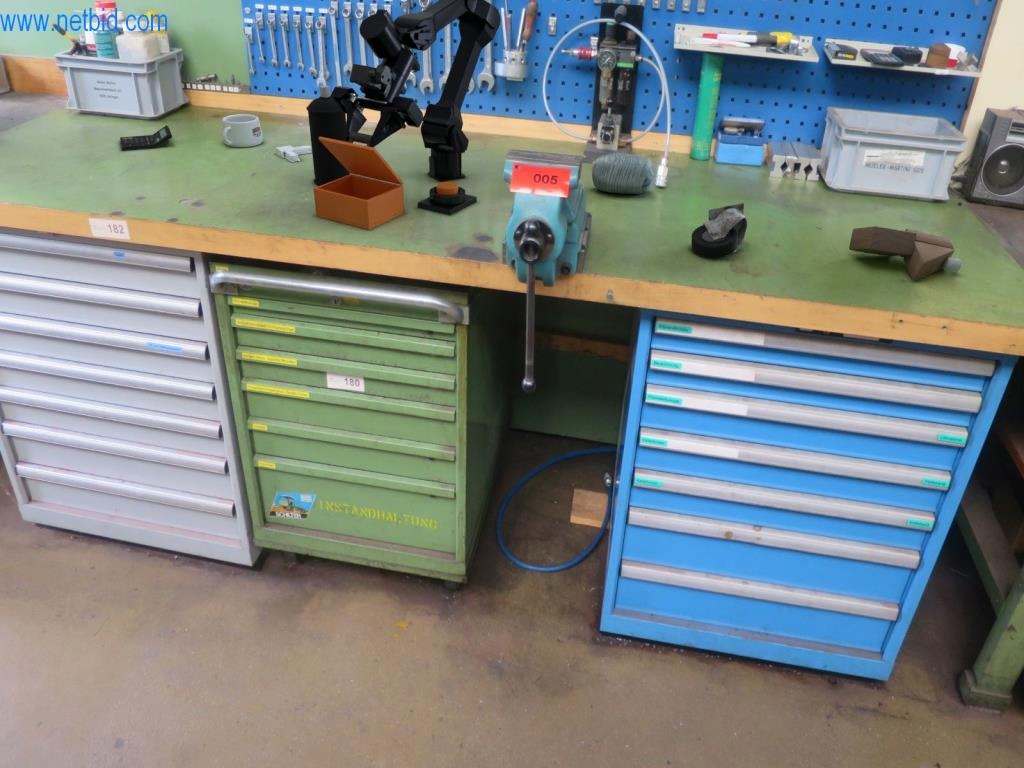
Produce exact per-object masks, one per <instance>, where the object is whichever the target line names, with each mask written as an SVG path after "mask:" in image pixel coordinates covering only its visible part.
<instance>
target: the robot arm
mask: <svg viewBox="0 0 1024 768" xmlns="http://www.w3.org/2000/svg"><path fill="white" fill-rule="evenodd" d="M456 20H457V21H458V25H457V27H458V31H459V36H460V40H459V43H458V47H457V49H456V52H455V55H454V58H453V60H452V64H451V67H450V69H449V71H448V75H447V77H446V81H445V82H444V83H445V84H444V86H443V89H442V92H441V94H440V96H439V97H440V98H439V100H438V101H436V103H428V104H427V106H426V108H425V111H424V113H423V112H422V110H421V108H420V107H419V105H418V104H417V103H416V101H415V99H413V98H412V97H406V96H404V95H406V93H407V89H406V88H405V84H406V82H407V80H408V78H409V77H410V74H411V72H412V71H415V72H420V71H421V65H420V62H419V57H418V55H415V54H414V53H413V51H420V52H425V51H427V50H429V48H431V46H433V44H434V43H435V42H436V40H437V37H438V35H437V34H438V33H439V32H440V31H442V30H443V29H444V28H446V27H447V26H449V25H450V24H452V23H453V22H454V21H456ZM501 20H502V19H501V14H500V12H499V10H498V9H497V7H496V6H495V5H493V4H492V3H490V2H488V1H487V0H437V1H435V2H433V3H432V4H431V5H429V6H428V7H426V8H425V9H423V10H421V11H419V12H411V13H410V12H409V13H406V14H403V15H398V16H397V17H396V18H395V19H394V20H393V19H392V16H391V15H390V12H389V11H388V10H387V9H383V8H378V9H377V10H376V12H375V13H372V14H371V15H368V16H367V17H366V18H365V19H364V20H362V21H361V22H360V25H359V29H358V30H359V34H360V36H361V38H362V39H363V41H364V42H365V43H366V44H367V46H368V47H369V49H370V50H371V52H372V53H373V54H374V56H375V57H377V59H380V60H381V61H380V64H377V66H375V67H374V66H370V65H365V64H364V65H363V64H357V63H353V64H352V66H351V70H350V76H349V80H348V81H349V83H352V84H353V83H354V84H356V85H358V86H359V91H360V93H362V94H364V97H363V96H359V94H358V92H357V91H356V90H355V89H354V88H353V87H349V86H344V85H343V86H342V85H336V86H334V88H333V89H332V92H331V93H330V96H331V98H332V99H333V100H334V101H335V102H336V104H337V105H338V106H339V107H340V108H341V110H342V111H343V112H344V113H346V133H345V141H346V142H348V141H349V138H348V136H349V133H350V132H351V131H353V132H358V133H359V131H360V130H361V129H362V127H363V126H364V125H365V123H366V122H367V121H368V118H366V116H365V115H364V114H363V112H364V110H365V109H367V110H370V111H376V112H380V113H379V114H380V115H379V120H378V122H377V124H376V126H375V128H374V131H373V132H372V134H371V135H372V137H371V140H370V143H369V145H370V147H373V148H375V147H376V146H378V145H379V144H381V143H382V142H383V141H385V140H386V139H387V138H389V137H390V136H392V135H394V134H395V133H397V132H399V131H400V130H402V129H404V130H405V129H406V128H407V127H412V128H418V129H419V128H420V134H421V138H422V141H423V145H424V148H425V149H430V155H429V157H428V170H429V171H427V175H428V176H430V177H432V178H433V179H435V180H437V181H439V182H449V181H455V180H459V179H465V178H466V175H465V174H463V170H462V169H463V168H462V167H463V161H462V160H463V159H462V156H463V155H462V154H465V153H466V151H467V150H468V148H469V142H470V139H469V138H468V137H467V135H466V134H465V132H464V131H463V126H464V122H463V121H464V120H463V116H462V112H461V110H462V106H463V104H464V101H465V98H466V95H467V93H468V90H469V87H470V84H471V81H472V79H473V75H474V73H475V70H476V67H477V65H478V61H479V58H480V56H481V53H482V50H483V49H484V48H485V47H486V46H488V45H489V44H490V43H491V42H493V40H494V38H495V36H496V34H497V32H498V29H499V28H500V25H501ZM412 50H413V51H412ZM401 95H403V96H401Z"/></svg>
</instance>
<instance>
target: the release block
mask: <svg viewBox="0 0 1024 768" xmlns="http://www.w3.org/2000/svg"><path fill="white" fill-rule="evenodd" d="M477 201H478V197H477V196H476V195H472V194H467V193H466V189H465V188H464V187H462V186H458V193H457V194H454V195H442V194H438V193H437V185H436V186H433V187H431V188H430V189H429V191H428V197H426V198H424V199H422V200H420V201H417V208H418V209H421V210H425V211H430V212H434V213H438V214H443V215H447V216H452V215H454V214H457V213H458V212H460V211H462V210H464V209H466V208H468V207H470V206H472V205H474V204H476V203H477Z"/></svg>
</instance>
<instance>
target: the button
mask: <svg viewBox="0 0 1024 768" xmlns="http://www.w3.org/2000/svg"><path fill="white" fill-rule="evenodd" d="M436 186H437V193H438V194H442V195H454V194H457V193H458V187H459V184H457V183H456V182H452V181H441V182H439V183H437V184H436Z"/></svg>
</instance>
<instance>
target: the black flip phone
mask: <svg viewBox="0 0 1024 768" xmlns="http://www.w3.org/2000/svg"><path fill="white" fill-rule="evenodd" d="M172 138H173V135H172V132H171V129H170V127H169V125H167V124H166V125H164V126H163V127H162V128H160V129H158V130H157V131H156V132H154V133H153V134H145V135H134V136H133V135H132V136H119V140H120V146H121V150H122V151H123V152H124V151H125V152H126V151H137V150H148V149H149V150H150V149H157V148H159V147H160V146H162V145H163V144H165V143H166V142H168V141H169V140H171V139H172Z"/></svg>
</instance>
